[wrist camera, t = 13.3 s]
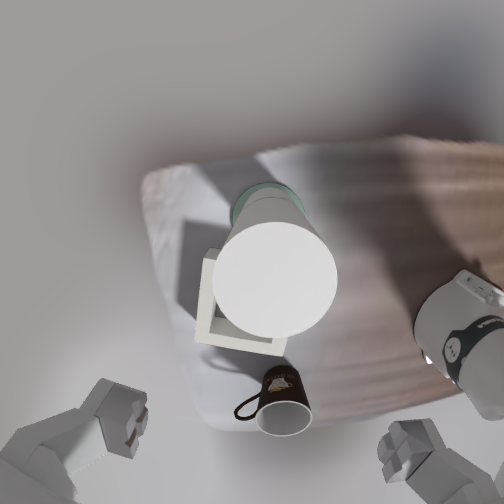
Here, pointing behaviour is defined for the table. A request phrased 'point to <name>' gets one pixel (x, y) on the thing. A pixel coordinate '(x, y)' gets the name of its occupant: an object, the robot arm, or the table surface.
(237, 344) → the holder
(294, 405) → the coffee mug
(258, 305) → the cylindrical container
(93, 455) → the robot arm
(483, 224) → the table surface
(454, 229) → the table surface
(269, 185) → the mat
